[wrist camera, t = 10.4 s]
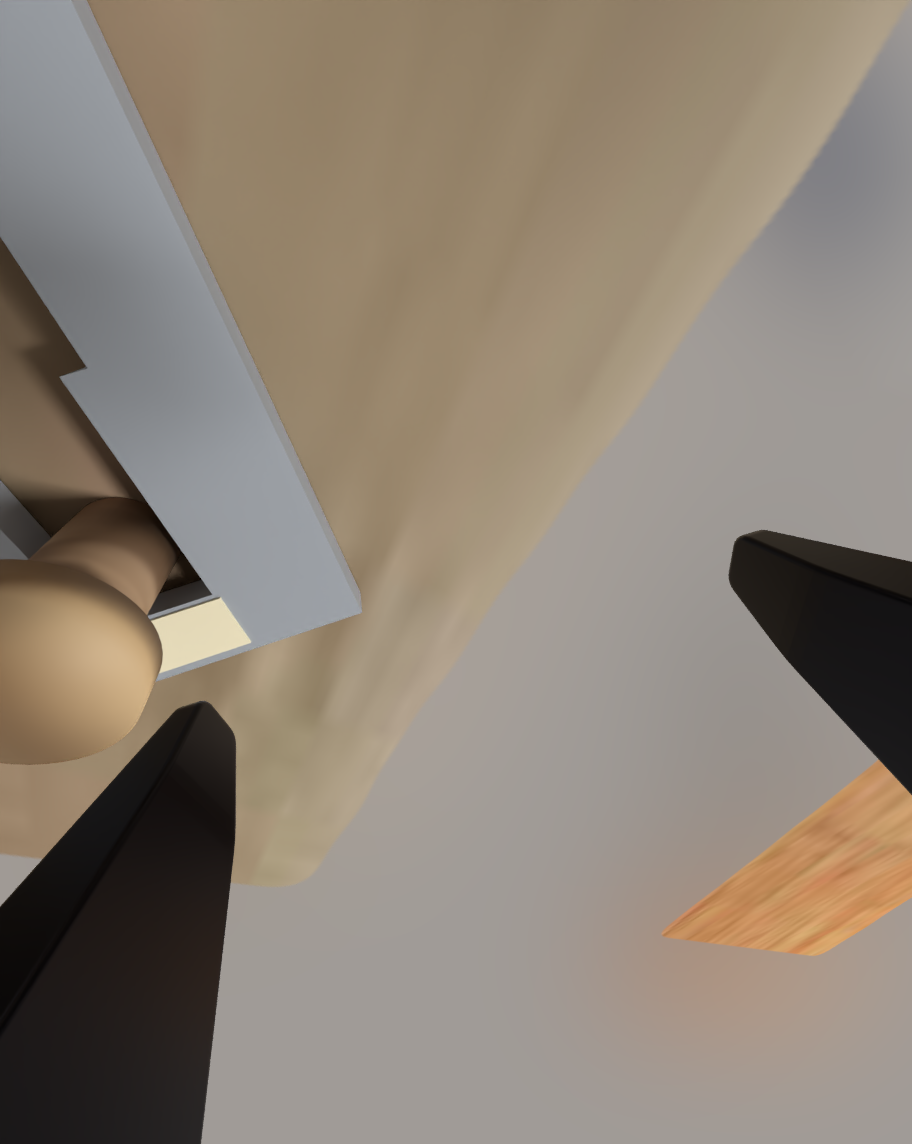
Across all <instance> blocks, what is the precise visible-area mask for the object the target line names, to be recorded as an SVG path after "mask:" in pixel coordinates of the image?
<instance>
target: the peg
mask: <svg viewBox="0 0 912 1144" xmlns="http://www.w3.org/2000/svg"><path fill="white" fill-rule="evenodd" d="M179 554H180V548H179V546H178V545H177V544H176V542H175V541H174V539H173V538H172V536H171V535H170V534H169V532H168V531H167V529H166V528H165V527H164V525H163V524H162V522H161V521H160V519H159V518H158V517H157V515H156V514H155V512H154V511H153V509H152V508H151V507H150V506H149V505H147V504H144V503H142V502H139V501H136V500H132V499H127V498H104V499H100V500H97V501H94V502H92V503H90V504H88V505H87V506H85V507H84V508H83V509H82V510H81V511H80V512H79V513H78V514H76V515H75V516H74V517H73V518H72V519H71V520H70V521H69V522H68V523H67V524H66V525H65V526H64V527H63V528H61V529H60V530H59V531H58V532H57V533H56V534H55V535H54V536H53V537H52V538H51V539H50V540H49V541H48V542H46V543H45V544H44V545H43V546H42V547H41V548H40V549H39V550H38V551H37V552H36V553H35V554H34V555H32V556H31V557H30V558H29V559H28V560H20V559H0V763H5V764H25V765H33V764H50V763H58V762H65V761H70V760H75V759H79V758H82V757H86V756H89V755H92V754H95V753H97V752H100V751H102V750H104V749H106V748H108V747H110V746H112V745H114V744H115V743H116V742H118V741H119V740H121V739H122V738H123V737H124V736H126V735H127V734H128V733H129V732H130V731H131V730H132V728H133V727H134V726H135V724H136V723H137V721H138V719H139V717H140V715H141V713H142V711H143V708H144V706H145V704H146V702H147V699H148V697H149V695H150V693H151V690H152V688H153V686H154V683H155V681H156V679H157V677H158V674H159V672H160V669H161V665H162V659H163V651H162V643H161V640H160V637H159V634H158V632H157V630H156V628H155V626H154V625H153V623H152V622H151V620H150V619H149V618H148V616H147V614H148V612H149V610H150V609H151V607H152V605H153V603H154V601H155V600H156V598H157V596H158V594H159V592H160V590H161V589H162V587H163V585H164V583H165V581H166V580H167V578H168V576H169V574H170V572H171V570H172V569H173V567H174V565H175V563H176V561H177V559H178V557H179Z"/></svg>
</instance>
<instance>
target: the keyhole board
mask: <svg viewBox="0 0 912 1144" xmlns="http://www.w3.org/2000/svg"><path fill="white" fill-rule="evenodd" d="M0 237H1V239H2V240H3V242H4V243H5V245H6V246H7V248H8V249H9V251H10V252H11V254H12V255H13V257H14V258H15V260H16V261H17V263H18V264H19V266H20V267H21V269H22V270H23V272H24V273H25V275H26V276H27V278H28V279H29V281H30V282H31V284H32V286H33V287H34V289H35V290H36V292H37V293H38V295H39V296H40V298H41V299H42V301H43V302H44V304H45V305H46V307H47V308H48V310H49V311H50V313H51V314H52V316H53V317H54V319H55V320H56V322H57V323H58V325H59V326H60V328H61V329H62V331H63V332H64V334H65V335H66V337H67V338H68V340H69V341H70V343H71V344H72V346H73V347H74V349H75V350H76V352H77V353H78V355H79V356H80V358H81V359H82V361H83V362H84V364H85V365H86V367H85V368H82V369H79V370H76V371H74V372H71V373H68V374H66V375H63V376H60V379H61V380H62V382H63V383H64V384H65V386H66V387H67V389H68V390H69V391H70V393H71V394H72V396H73V397H74V399H75V400H76V401H77V403H78V404H79V406H80V407H81V409H82V410H83V411H84V413H85V414H86V416H87V417H88V418H89V420H90V421H91V423H92V424H93V426H94V427H95V428H96V430H97V431H98V433H99V434H100V436H101V437H102V438H103V440H104V441H105V443H106V444H107V445H108V447H109V448H110V450H111V451H112V453H113V454H114V455H115V457H116V458H117V460H118V461H119V463H120V464H121V465H122V467H123V468H124V470H125V471H126V473H127V474H128V475H129V477H130V478H131V480H132V481H133V482H134V484H135V485H136V487H137V488H138V490H139V491H140V492H141V494H142V495H143V497H144V498H145V500H146V501H147V502H148V504H149V505H150V507H151V508H152V509H153V511H154V512H155V514H156V515H157V517H158V518H159V519H160V521H161V522H162V524H163V525H164V527H165V528H166V529H167V531H168V532H169V534H170V535H171V536H172V538H173V539H174V541H175V542H176V544H177V545H178V546H179V548H180V549H181V551H182V552H183V554H184V555H185V556H186V558H187V559H188V561H189V562H190V563H191V565H192V566H193V568H194V569H195V571H196V572H197V573H198V575H199V576H200V578H201V579H202V580H199V581H196V582H193V583H190V584H187V585H184V586H181V587H178V588H175V589H172V590H168V591H165V592H162V593H159V594H158V596H157V598H156V600H155V601H154V603H153V605H152V607H151V609H150V610H149V612H148V614H147V616H148V618H149V619H150V620H151V622H152V623H153V625H154V626H155V628H156V630H157V632H158V634H159V637H160V640H161V643H162V651H163V659H162V665H161V669H160V672H159V674H158V677H157V679H156V681H159V680H162V679H165V678H168V677H171V676H174V675H177V674H180V673H183V672H186V671H189V670H192V669H195V668H198V667H201V666H204V665H207V664H210V663H213V662H216V661H219V660H222V659H225V658H228V657H231V656H234V655H237V654H240V653H243V652H246V651H249V650H252V649H255V648H258V647H261V646H264V645H267V644H270V643H273V642H276V641H279V640H282V639H285V638H288V637H291V636H294V635H297V634H300V633H303V632H306V631H309V630H312V629H315V628H318V627H321V626H324V625H327V624H330V623H333V622H336V621H338V620H341V619H344V618H347V617H350V616H353V615H356V614H359V613H362V607H361V595H360V591H359V589H358V586H357V584H356V582H355V580H354V578H353V576H352V573H351V571H350V569H349V567H348V565H347V563H346V560H345V558H344V556H343V554H342V552H341V550H340V547H339V545H338V543H337V541H336V539H335V537H334V534H333V532H332V530H331V528H330V526H329V524H328V521H327V519H326V517H325V515H324V513H323V511H322V508H321V506H320V504H319V502H318V500H317V498H316V495H315V493H314V491H313V489H312V487H311V485H310V482H309V480H308V478H307V476H306V474H305V472H304V470H303V467H302V465H301V463H300V461H299V459H298V457H297V454H296V452H295V450H294V448H293V446H292V444H291V441H290V439H289V437H288V435H287V433H286V431H285V428H284V426H283V424H282V422H281V420H280V418H279V415H278V413H277V411H276V409H275V407H274V405H273V402H272V400H271V398H270V396H269V394H268V392H267V389H266V387H265V385H264V383H263V381H262V379H261V376H260V374H259V372H258V370H257V368H256V366H255V363H254V361H253V359H252V357H251V355H250V353H249V351H248V348H247V346H246V344H245V342H244V340H243V338H242V335H241V333H240V331H239V329H238V327H237V325H236V322H235V320H234V318H233V316H232V314H231V312H230V309H229V307H228V305H227V303H226V301H225V299H224V296H223V294H222V292H221V290H220V288H219V286H218V283H217V281H216V279H215V277H214V275H213V273H212V270H211V268H210V266H209V264H208V262H207V260H206V257H205V255H204V253H203V251H202V249H201V247H200V244H199V242H198V240H197V238H196V236H195V234H194V232H193V229H192V227H191V225H190V223H189V221H188V219H187V216H186V214H185V212H184V210H183V208H182V206H181V203H180V201H179V199H178V197H177V195H176V193H175V190H174V188H173V186H172V184H171V182H170V180H169V177H168V175H167V173H166V171H165V169H164V167H163V164H162V162H161V160H160V158H159V156H158V154H157V151H156V149H155V147H154V145H153V143H152V141H151V138H150V136H149V134H148V132H147V130H146V128H145V126H144V123H143V121H142V119H141V117H140V115H139V113H138V110H137V108H136V106H135V104H134V102H133V100H132V97H131V95H130V93H129V91H128V89H127V87H126V84H125V82H124V80H123V78H122V76H121V74H120V71H119V69H118V67H117V65H116V63H115V61H114V58H113V56H112V54H111V52H110V50H109V48H108V45H107V43H106V41H105V39H104V37H103V35H102V32H101V30H100V28H99V26H98V24H97V22H96V19H95V17H94V15H93V13H92V11H91V9H90V7H89V4H88V2H87V0H0ZM50 539H51V537H50V536H49V535H48V534H47V532H46V531H45V530H44V529H43V528H42V527H41V526H40V525H39V523H38V522H37V521H36V520H35V519H34V518H33V517H32V515H31V514H30V513H29V512H28V511H27V510H26V509H25V508H24V506H23V505H22V504H21V503H20V502H19V501H18V500H17V498H16V497H15V496H14V495H13V494H12V493H11V492H10V491H9V489H8V488H7V487H6V486H5V485H4V484H3V483H2V482H1V480H0V559H20V560H28V559H29V558H30V557H31V556H32V555H34V554H35V553H36V552H37V551H38V550H39V549H40V548H41V547H42V546H43V545H44V544H45V543H46V542H48V541H49V540H50ZM156 681H155V682H156Z"/></svg>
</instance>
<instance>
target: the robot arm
mask: <svg viewBox="0 0 912 1144" xmlns="http://www.w3.org/2000/svg"><path fill="white" fill-rule="evenodd" d="M729 581H730V585H731V587H732V588H733V590H734V591H735V593H736V594H737V595H738V597H739V598H740V599H741V601H742V602H743V603H744V605H745V606H746V607H747V609H748V610H749V611H750V613H751V614H752V615H753V616H754V618H755V619H756V621H757V622H758V623H759V624H760V626H761V627H762V629H763V630H764V631H765V632H766V634H767V635H768V636H769V638H770V639H771V640H772V642H773V643H774V644H775V646H776V647H777V648H778V650H779V651H780V652H781V653H782V655H783V656H784V657H785V658H786V659H787V660H788V662H789V663H790V664H791V665H792V666H793V667H794V669H795V670H796V671H797V672H798V673H799V674H800V675H801V676H802V677H803V678H804V679H805V681H806V682H808V684H809V685H810V686H811V687H812V688H813V689H814V690H815V691H816V692H817V693H818V694H819V696H821V698H822V699H823V700H824V701H825V702H826V703H827V704H828V705H829V706H830V707H831V708H832V710H833V711H834V712H835V713H836V714H837V715H838V716H839V717H840V718H841V719H842V720H843V721H844V723H845V724H846V725H847V726H848V727H849V728H850V729H851V730H852V731H853V732H854V733H855V734H856V735H857V737H858V738H859V739H860V740H861V741H862V742H863V743H864V744H865V745H866V746H867V747H868V748H869V749H870V751H871V752H873V754H874V755H875V756H876V757H877V758H878V759H879V760H880V761H881V762H882V763H883V765H884V766H885V767H886V768H887V769H888V770H889V771H890V772H891V773H892V774H893V775H894V776H895V777H896V779H897V780H898V781H899V782H900V783H901V784H902V785H903V786H904V787H905V788H906V789H907V790H908V791H909V793H910V794H911V795H912V562H910V561H906V560H901V559H896V558H892V557H887V556H882V555H878V554H873V553H869V552H864V551H859V550H855V549H850V548H846V547H841V546H837V545H832V544H827V543H823V542H818V541H813V540H808V539H804V538H799V537H795V536H791V535H786V534H781V533H777V532H772V531H768V530H759V531H755V532H752V533H748V534H745V535H742V536H740V537H738V538H737V540H736V541H735V543H734V547H733V552H732V558H731V563H730V569H729ZM235 829H236V740H235V736H234V733H233V731H232V730H231V728H230V727H229V726H228V724H227V723H226V722H225V721H224V719H223V718H222V717H221V716H220V715H219V713H218V712H217V711H216V710H215V708H214V707H213V706H212V705H211V704H210V703H208V702H206V701H199V702H196V703H192V704H189V705H186V706H183V707H180V708H178V709H177V710H176V711H174V713H173V714H172V715H171V716H170V717H169V718H168V719H167V720H166V721H165V723H164V724H163V725H162V726H161V727H160V728H159V729H158V730H157V732H156V733H155V734H154V735H153V736H152V737H151V738H150V739H149V741H148V742H147V743H146V744H145V745H144V746H143V747H142V748H141V749H140V751H139V752H138V753H137V754H136V755H135V756H134V757H133V758H132V760H131V761H130V762H129V763H128V764H127V765H126V766H125V767H124V769H123V770H122V771H121V772H120V773H119V774H118V775H117V776H116V778H115V779H114V780H113V781H112V782H111V783H110V784H109V785H108V786H107V788H106V789H105V790H104V791H103V792H102V793H101V794H100V795H99V797H98V798H97V799H96V800H95V801H94V802H93V803H92V804H91V806H90V807H89V808H88V809H87V810H86V811H85V812H84V813H83V814H82V816H81V817H80V818H79V819H78V820H77V821H76V822H75V823H74V825H73V826H72V827H71V828H70V829H69V830H68V831H67V832H66V834H65V835H64V836H63V837H62V838H61V839H60V840H59V841H58V843H57V844H56V845H55V846H54V847H53V848H52V849H51V850H50V851H49V853H48V854H47V855H46V856H45V857H44V858H43V859H42V860H41V862H40V863H39V864H38V865H37V866H36V867H35V868H34V869H33V871H32V872H31V873H30V874H29V875H28V876H27V877H26V879H25V880H24V881H23V882H22V883H21V884H20V885H19V886H18V887H17V888H16V890H15V891H14V892H13V893H12V894H11V895H10V897H8V899H7V900H6V901H5V902H4V903H3V904H2V905H1V906H0V1144H201V1138H202V1129H203V1120H204V1112H205V1103H206V1093H207V1085H208V1076H209V1067H210V1059H211V1050H212V1041H213V1032H214V1024H215V1015H216V1006H217V997H218V988H219V980H220V971H221V962H222V953H223V944H224V935H225V927H226V918H227V909H228V900H229V891H230V883H231V874H232V865H233V856H234V845H235Z"/></svg>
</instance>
